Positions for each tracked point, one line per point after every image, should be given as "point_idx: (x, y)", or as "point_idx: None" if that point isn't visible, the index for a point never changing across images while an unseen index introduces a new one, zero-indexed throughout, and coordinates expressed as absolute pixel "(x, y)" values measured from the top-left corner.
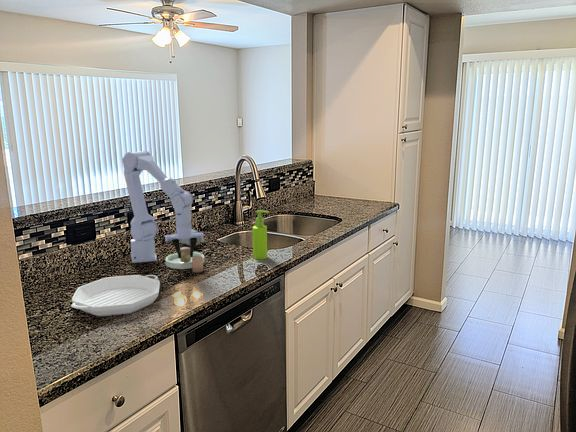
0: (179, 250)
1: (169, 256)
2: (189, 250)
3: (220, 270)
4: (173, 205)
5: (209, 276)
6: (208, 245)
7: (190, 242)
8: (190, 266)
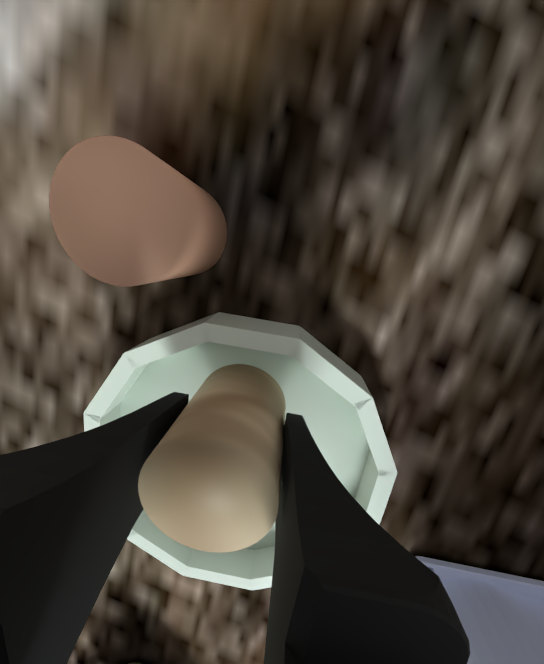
0: (295, 463)
1: None
2: (163, 437)
3: (9, 150)
4: None
5: (110, 13)
6: None
7: (58, 561)
8: (225, 317)
